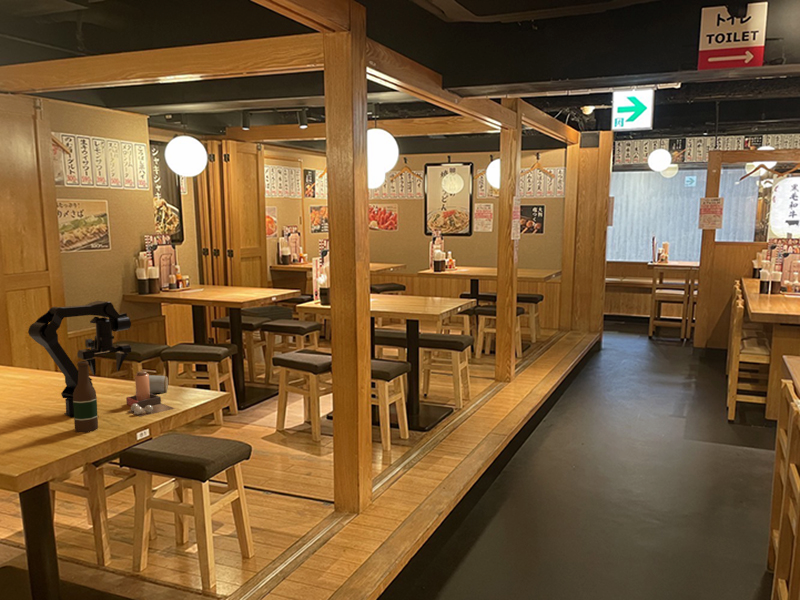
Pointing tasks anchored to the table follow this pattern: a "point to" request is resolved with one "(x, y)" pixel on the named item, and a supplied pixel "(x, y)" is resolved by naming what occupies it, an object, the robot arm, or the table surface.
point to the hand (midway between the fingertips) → (106, 372)
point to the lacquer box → (144, 401)
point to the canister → (142, 386)
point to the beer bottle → (84, 401)
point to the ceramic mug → (158, 384)
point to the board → (154, 409)
